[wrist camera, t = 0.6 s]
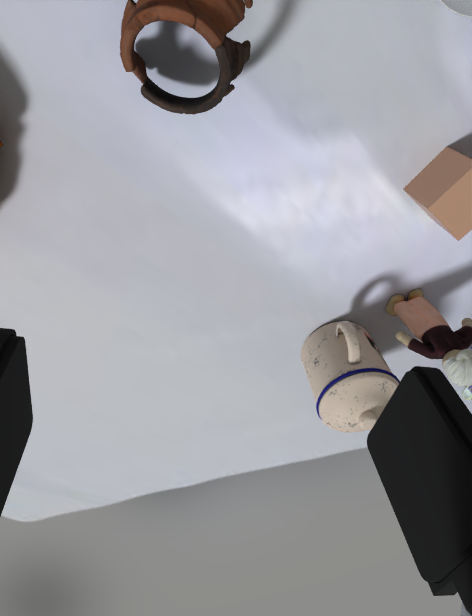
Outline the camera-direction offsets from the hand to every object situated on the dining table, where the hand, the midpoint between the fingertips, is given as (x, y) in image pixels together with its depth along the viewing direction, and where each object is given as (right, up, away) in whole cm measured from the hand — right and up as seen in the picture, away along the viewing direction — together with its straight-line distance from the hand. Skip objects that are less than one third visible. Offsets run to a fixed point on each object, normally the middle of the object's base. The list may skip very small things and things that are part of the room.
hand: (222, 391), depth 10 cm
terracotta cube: (+20, +14, +30) cm, 38 cm away
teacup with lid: (+12, -1, +40) cm, 41 cm away
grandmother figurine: (+20, +3, +38) cm, 43 cm away
